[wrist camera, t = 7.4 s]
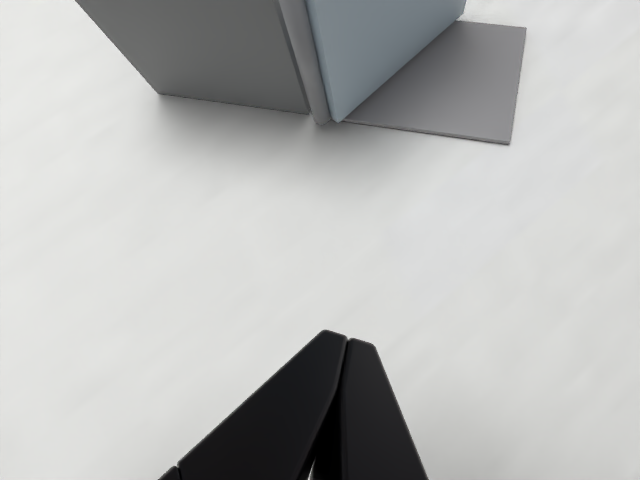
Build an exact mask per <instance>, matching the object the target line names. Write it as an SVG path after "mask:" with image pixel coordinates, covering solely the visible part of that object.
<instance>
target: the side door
mask: <svg viewBox="0 0 640 480" xmlns="http://www.w3.org/2000/svg"><path fill="white" fill-rule="evenodd" d="M279 3H280V6H281V10H282V13H283V17H284V20H285V23H286V27H287V30H288V33H289V37H290V40H291V44H292V47H293V50H294V54H295V57H296V61H297V64H298V67H299V71H300V74H301V78H302V81H303V84H304V88H305V91H306V95H307V98H308V101H309V105H310V108H311V111H312V115H313V118H314V121H315V122H316V123H317V124H321V125H322V124H326V123H327V122H328V121H329V120H330V116H331V117H332V118H333V119H334V120H335V121H336V122H337V123H339V122H340V121H342V120H343V119H344V118H345V117H346V116H347V115H348V114H350V113H351V112H352V111H353V110H354V109H355V108H356V107H357V106H359V105H360V104H361V103H362V102H363V101H364V100H365V99H367V98H368V97H369V96H370V95H371V94H372V93H373V92H375V91H376V90H377V89H378V88H379V87H380V86H381V85H382V84H384V83H385V82H386V81H387V80H388V79H389V78H390V77H392V76H393V75H394V74H395V73H396V72H397V71H398V70H399V69H401V68H402V67H403V66H404V65H405V64H406V63H407V62H409V61H410V60H411V59H412V58H413V57H414V56H415V55H416V54H418V53H419V52H420V51H421V50H422V49H423V48H424V47H426V46H427V45H428V44H429V43H430V42H431V41H432V40H434V39H435V38H436V37H437V36H438V35H439V34H440V33H441V32H443V31H444V30H445V29H446V28H447V27H448V26H449V25H451V24H452V23H453V22H454V21H455V20H456V19H457V18H458V17H460V16H461V15H462V14H463V12H464V8H465V4H466V0H279Z"/></svg>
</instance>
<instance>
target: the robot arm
mask: <svg viewBox="0 0 640 480" xmlns="http://www.w3.org/2000/svg"><path fill="white" fill-rule="evenodd" d="M312 465H313V466H312ZM311 468H312V471H311ZM310 471H311V475H310V480H429V479H428V477H427V474H426V472H425V469H424V467H423V464H422V462H421V459H420V457H419V454H418V452H417V449H416V447H415V445H414V442H413V440H412V437H411V435H410V432H409V430H408V427H407V425H406V422H405V420H404V417H403V415H402V412H401V410H400V407H399V405H398V402H397V400H396V397H395V395H394V392H393V390H392V387H391V385H390V382H389V380H388V377H387V375H386V372H385V370H384V367H383V365H382V362H381V360H380V357H379V355H378V352H377V350H376V347H375V346H374V345H373V344H371V343H369V342H365V341H362V340H359V339H355V338H350V339H349V340H348V339H347V337H346V336H345V335H342V334H339V333H336V332H333V331H329V330H322V331H321V332H320V333H319V334H318V335H316V336H315V337H314V338H313V339H312V340H311V341H310V342H309V343H308V344H307V345H306V346H304V347H303V348H302V349H301V350H300V351H299V352H298V353H297V354H296V355H295V356H293V357H292V358H291V359H290V360H289V361H288V362H287V363H286V364H285V365H284V366H282V367H281V368H280V369H279V370H278V371H277V372H276V373H275V374H274V375H273V376H272V377H270V378H269V379H268V380H267V381H266V382H265V383H264V384H263V385H262V386H261V387H259V388H258V389H257V390H256V391H255V392H254V393H253V394H252V395H251V396H250V397H248V398H247V399H246V400H245V401H244V402H243V403H242V404H241V405H240V406H239V407H238V408H236V409H235V410H234V411H233V412H232V413H231V414H230V415H229V416H228V417H227V418H225V419H224V420H223V421H222V422H221V423H220V424H219V425H218V426H217V427H216V428H214V429H213V430H212V431H211V432H210V433H209V434H208V435H207V436H206V437H205V438H204V439H202V440H201V441H200V442H199V443H198V444H197V445H196V446H195V447H194V448H193V449H191V450H190V451H189V452H188V453H187V454H186V455H185V456H184V457H183V458H182V459H181V460H179V461H178V463H177V467H176V466H173V467H171V468H170V469H169V470H168V471H167V472H166V473H165V474H164V475H163V476H161V477H160V478H159V479H158V480H308V477H309V474H310Z"/></svg>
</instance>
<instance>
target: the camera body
mask: <svg viewBox="0 0 640 480" xmlns="http://www.w3.org/2000/svg"><path fill="white" fill-rule="evenodd" d="M75 1H76V2H77V3H78V4H79V5H80V6H81V8H82V9H83V10H84V11H85V12H86V13H87V14H88V15H89V17H90V18H91V19H92V20H93V21H94V22H95V23H96V24H97V26H98V27H99V28H100V29H101V30H102V31H103V32H104V33H105V35H106V36H107V37H108V38H109V39H110V40H111V41H112V42H113V44H114V45H115V46H116V47H117V48H118V49H119V50H120V52H121V53H122V54H123V55H124V56H125V57H126V58H127V59H128V61H129V62H130V63H131V64H132V65H133V66H134V67H135V68H136V70H137V71H138V72H139V73H140V74H141V75H142V76H143V77H144V79H145V80H146V81H147V82H148V83H149V84H150V85H151V86H152V88H153V89H154V90H155V91H156V92H157V93H159V94H166V95H173V96H180V97H187V98H194V99H202V100H209V101H216V102H223V103H230V104H237V105H245V106H252V107H259V108H266V109H273V110H280V111H287V112H295V113H302V114H309V111H310V105H309V101H308V98H307V95H306V91H305V88H304V84H303V81H302V78H301V74H300V71H299V67H298V64H297V61H296V57H295V54H294V50H293V47H292V44H291V40H290V37H289V33H288V30H287V27H286V23H285V20H284V17H283V13H282V10H281V6H280V3H279V0H75ZM525 35H526V28H524V27H514V26H505V25H495V24H485V23H475V22H465V21H456V20H455V21H454V22H453V23H452V24H451V25H449V26H448V27H447V28H446V29H445V30H444V31H443V32H441V33H440V34H439V35H438V36H437V37H436V38H435V39H434V40H432V41H431V42H430V43H429V44H428V45H427V46H426V47H424V48H423V49H422V50H421V51H420V52H419V53H418V54H416V55H415V56H414V57H413V58H412V59H411V60H410V61H409V62H407V63H406V64H405V65H404V66H403V67H402V68H401V69H399V70H398V71H397V72H396V73H395V74H394V75H393V76H392V77H390V78H389V79H388V80H387V81H386V82H385V83H384V84H382V85H381V86H380V87H379V88H378V89H377V90H376V91H375V92H373V93H372V94H371V95H370V96H369V97H368V98H367V99H365V100H364V101H363V102H362V103H361V104H360V105H359V106H357V107H356V108H355V109H354V110H353V111H352V112H351V113H350V114H348V115H347V116H346V117H345V118H344V119H343V120H342V121H345V122H352V123H359V124H366V125H373V126H381V127H388V128H395V129H402V130H409V131H416V132H423V133H430V134H438V135H445V136H452V137H459V138H466V139H473V140H480V141H487V142H495V143H502V144H509V143H510V139H511V132H512V125H513V118H514V111H515V105H516V98H517V91H518V84H519V77H520V70H521V63H522V56H523V49H524V42H525ZM330 119H331V120H334V119H333V118H332V117H331V116H330Z"/></svg>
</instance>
